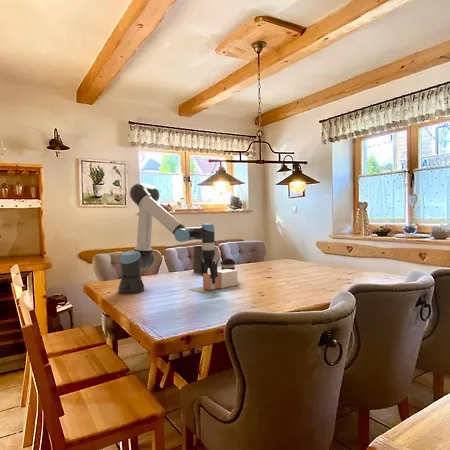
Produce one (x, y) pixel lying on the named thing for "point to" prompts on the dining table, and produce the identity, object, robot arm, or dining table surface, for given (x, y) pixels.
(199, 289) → the board
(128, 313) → the dining table surface
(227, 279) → the cream white block
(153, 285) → the dining table surface
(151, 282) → the dining table surface
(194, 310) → the dining table surface
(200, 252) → the beer stein
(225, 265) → the coffee cup
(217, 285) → the stub
